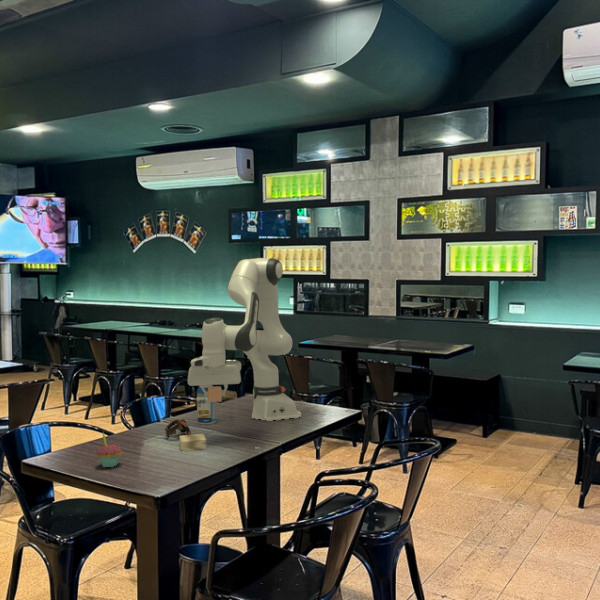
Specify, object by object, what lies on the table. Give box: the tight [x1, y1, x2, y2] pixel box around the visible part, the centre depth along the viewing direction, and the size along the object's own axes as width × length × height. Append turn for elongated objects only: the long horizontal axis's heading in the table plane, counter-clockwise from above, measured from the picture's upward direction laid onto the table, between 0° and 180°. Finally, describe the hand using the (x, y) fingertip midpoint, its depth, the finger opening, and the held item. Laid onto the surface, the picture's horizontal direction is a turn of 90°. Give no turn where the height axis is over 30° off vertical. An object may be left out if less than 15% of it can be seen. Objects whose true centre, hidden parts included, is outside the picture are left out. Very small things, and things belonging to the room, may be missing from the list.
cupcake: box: [96, 432, 124, 468], centre depth 215 cm, size 9×8×12 cm
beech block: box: [179, 433, 207, 452], centre depth 236 cm, size 9×9×4 cm
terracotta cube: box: [208, 385, 223, 403], centre depth 241 cm, size 5×5×5 cm
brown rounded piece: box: [164, 418, 192, 438], centre depth 252 cm, size 12×10×8 cm
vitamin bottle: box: [196, 385, 217, 425], centre depth 274 cm, size 8×8×20 cm
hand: (214, 396), depth 241 cm, fingers closed on terracotta cube, 5 cm apart
